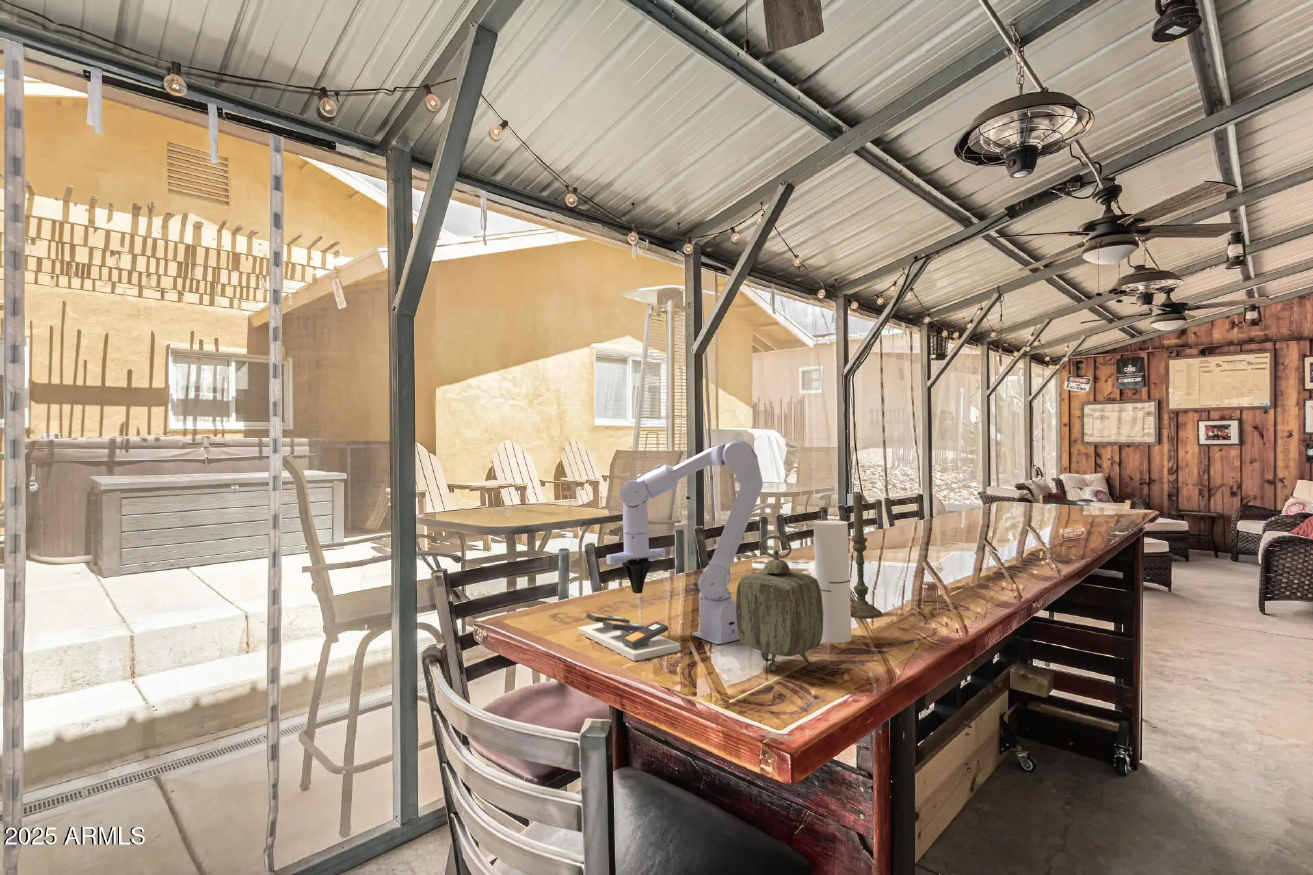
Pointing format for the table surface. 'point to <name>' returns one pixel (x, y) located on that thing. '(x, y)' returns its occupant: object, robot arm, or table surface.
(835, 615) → the cylindrical container
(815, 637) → the tabletop clock
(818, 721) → the table surface
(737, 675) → the table surface
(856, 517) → the candlestick holder
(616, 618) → the rocker far
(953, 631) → the table surface
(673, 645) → the switch strip
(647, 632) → the rocker near
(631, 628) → the rocker middle
